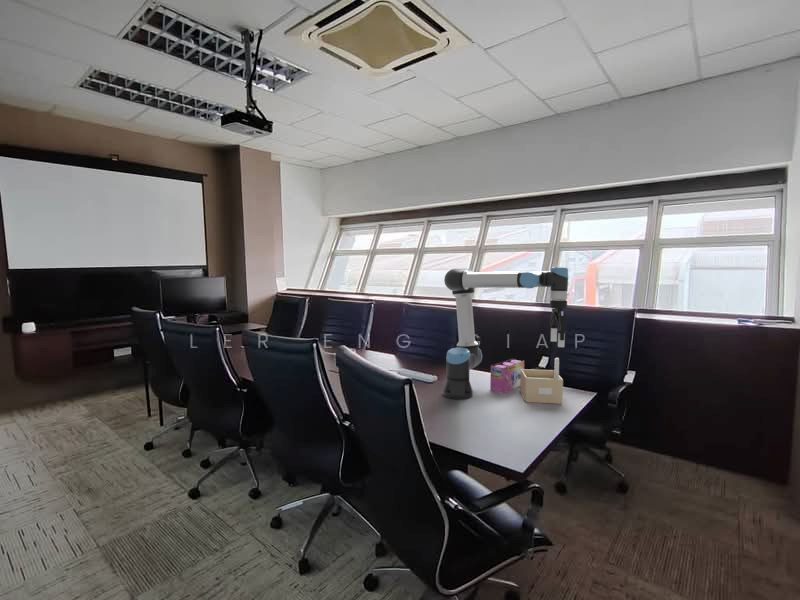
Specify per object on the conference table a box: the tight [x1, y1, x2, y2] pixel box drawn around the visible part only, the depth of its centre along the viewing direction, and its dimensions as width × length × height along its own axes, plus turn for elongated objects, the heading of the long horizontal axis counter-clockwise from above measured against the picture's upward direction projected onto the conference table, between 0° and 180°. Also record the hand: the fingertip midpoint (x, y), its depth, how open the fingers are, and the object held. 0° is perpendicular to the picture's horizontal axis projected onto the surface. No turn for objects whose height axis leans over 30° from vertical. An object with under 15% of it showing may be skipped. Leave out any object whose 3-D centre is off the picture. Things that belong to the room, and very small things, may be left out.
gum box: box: [489, 358, 525, 394], centre depth 215 cm, size 24×8×14 cm, turn 134°
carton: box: [519, 368, 563, 403], centre depth 198 cm, size 17×17×12 cm
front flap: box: [525, 357, 564, 405], centre depth 189 cm, size 17×2×22 cm, turn 81°
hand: (557, 344), depth 188 cm, fingers open, 13 cm apart
